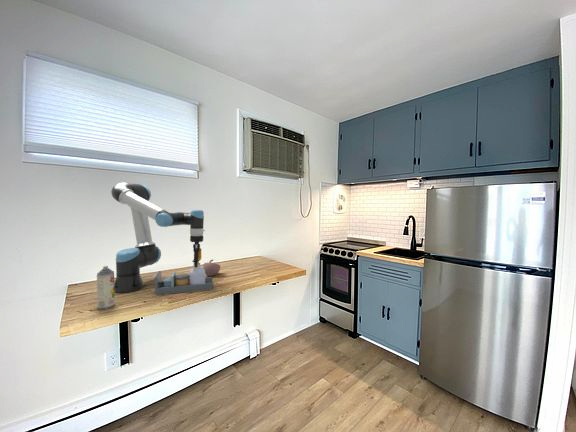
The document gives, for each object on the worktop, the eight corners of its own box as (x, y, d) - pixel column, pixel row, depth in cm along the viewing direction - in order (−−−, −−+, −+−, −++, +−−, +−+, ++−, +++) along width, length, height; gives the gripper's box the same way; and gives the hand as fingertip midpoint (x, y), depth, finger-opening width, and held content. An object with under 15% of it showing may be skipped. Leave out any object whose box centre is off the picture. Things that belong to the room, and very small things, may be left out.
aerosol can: (113, 307, 114) (113, 267, 113) (95, 310, 111) (95, 268, 110) (115, 302, 120) (115, 264, 119) (98, 304, 116) (98, 265, 116)
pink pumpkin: (222, 273, 174) (222, 258, 173) (216, 278, 162) (216, 262, 161) (207, 272, 175) (207, 257, 174) (199, 277, 163) (199, 261, 163)
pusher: (163, 292, 133) (163, 277, 133) (166, 286, 143) (166, 272, 142) (173, 291, 135) (173, 276, 134) (175, 285, 145) (175, 271, 144)
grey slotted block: (154, 295, 130) (154, 277, 130) (159, 287, 143) (159, 271, 142) (213, 289, 141) (213, 272, 141) (212, 282, 153) (212, 267, 153)
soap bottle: (188, 290, 139) (188, 249, 138) (190, 285, 147) (190, 246, 146) (204, 289, 141) (204, 248, 140) (205, 284, 150) (205, 246, 149)
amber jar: (173, 291, 136) (173, 278, 136) (175, 287, 144) (175, 274, 143) (188, 290, 139) (188, 277, 138) (189, 285, 146) (189, 273, 146)
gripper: (203, 238, 132) (202, 274, 133) (203, 232, 156) (202, 263, 157) (189, 238, 130) (188, 275, 131) (191, 232, 153) (190, 264, 154)
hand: (196, 269), depth 144 cm, fingers open, 13 cm apart
